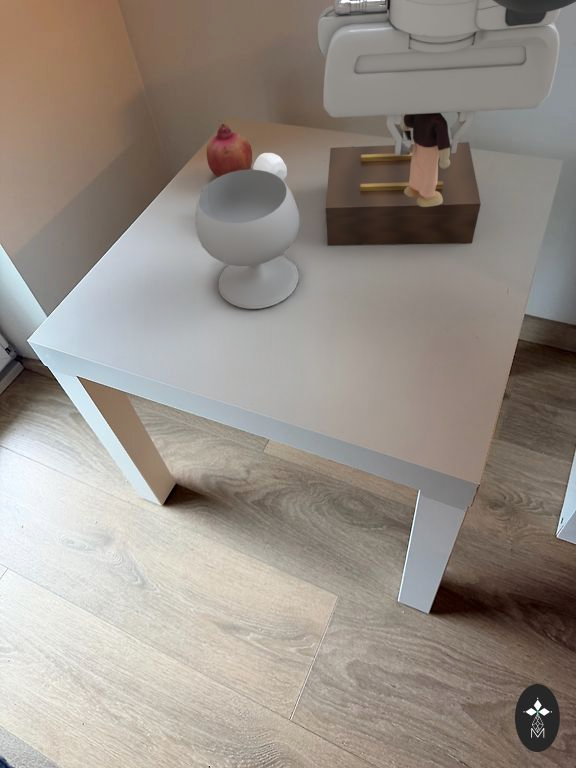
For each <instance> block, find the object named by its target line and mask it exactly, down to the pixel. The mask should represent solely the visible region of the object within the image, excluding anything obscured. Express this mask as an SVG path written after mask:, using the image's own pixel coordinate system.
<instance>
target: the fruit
mask: <svg viewBox="0 0 576 768" xmlns="http://www.w3.org/2000/svg"><path fill="white" fill-rule="evenodd" d="M206 161H207V165H208V167H209V169H210V171H211V172H212V174H213V175H214V176H215V178H218V177H220V176H222V175H225V174H227V173H230V172H235V171H239V170H251V166H252V163H253V149H252V146H251V144H250V143H249V141H248V140H247V139H246V138H245V137H244V136H243V135H242V134H241V133H238V132H233V131H232V129H231V128H230V127H229V125H227V124H226V123H222V124H220V125H219V128H218V129H217V133H216V135H215V136H213V137H212V139H211V140H210V141H209V143H208V144H207V147H206Z"/></svg>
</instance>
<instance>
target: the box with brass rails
mask: <svg viewBox="0 0 576 768" xmlns="http://www.w3.org/2000/svg"><path fill="white" fill-rule="evenodd" d="M414 144H415V143H414ZM414 144H412V143H411V147H410V155H398V156H395V144H391V145H388V144H387V145H365V146H364V145H363V146H342V147H341V146H340V147H330V149H329V161H328V176H327V187H326V199H325V200H326V201H325V220H326V242H327V243H326V244H327V245H326V246H364V245H365V246H369V245H423V244H425V245H427V244H431V245H432V244H472V243H473V241H474V236H475V232H476V228H477V222H478V218H479V214H480V210H481V205H482V203H481V197H480V192H479V186H478V182H477V181H478V180H477V177H476V170H475V166H474V161H473V156H472V150H471V146H470V142H469V141H464V142H458V145H457V150H456V153H450V156H449V160H450V165H449V167H448V168H446V169H442V168H440V166H439V161H440V158H439V160H438V179H437V185H436V187H435V191H437V192H439V193H440V194H441V195H442V197H443V202H442V203H441V204H440V205H437V206H429V207H421V206H419V205H418V203H417V199H418V198H419V197H420V196H421V195H417V196H415V197H409V196H407V195H406V194H405V193H404V190H405V189H406V188H407V187H408V186H409V180H410V168H411V159H412V153H413V148H414Z"/></svg>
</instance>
